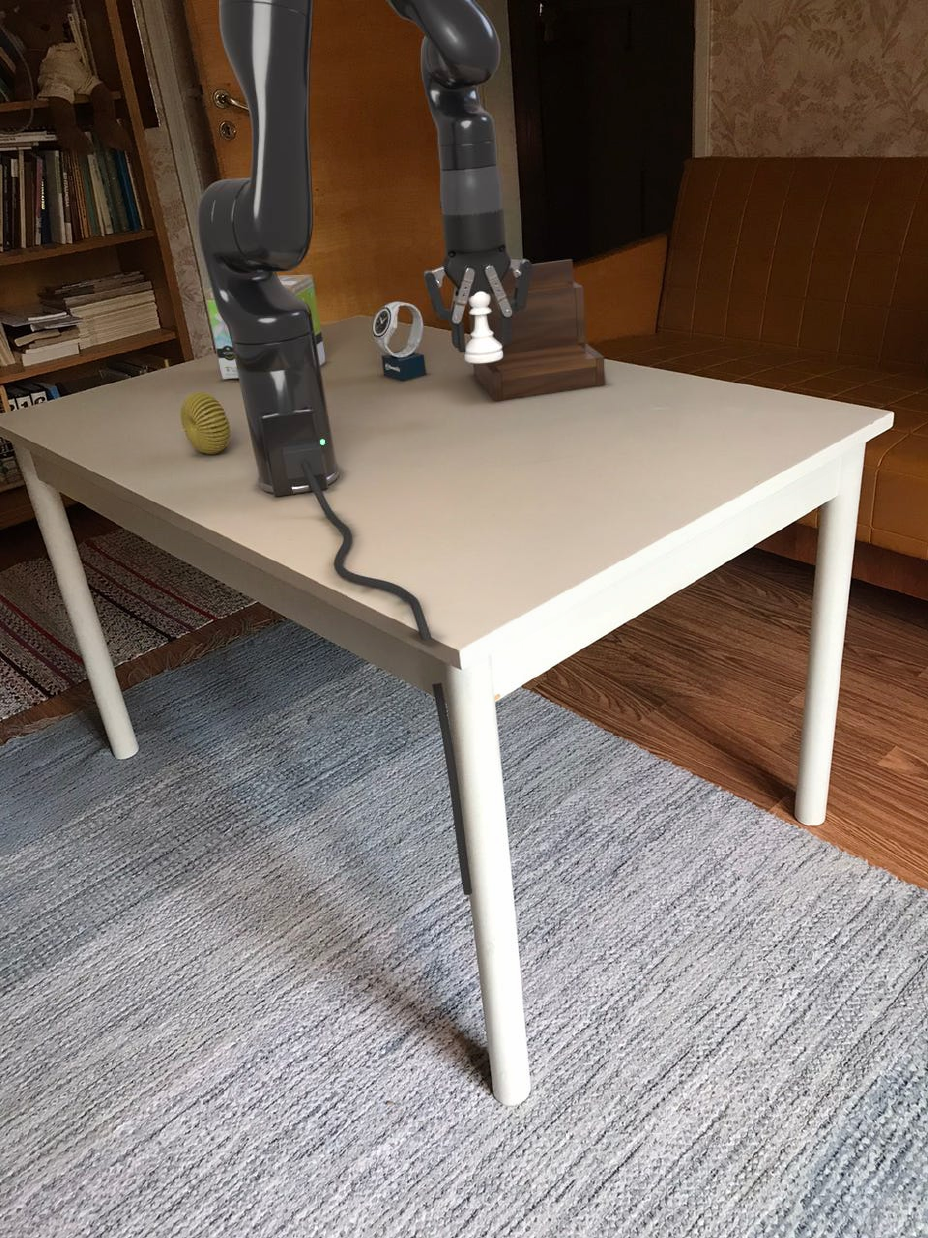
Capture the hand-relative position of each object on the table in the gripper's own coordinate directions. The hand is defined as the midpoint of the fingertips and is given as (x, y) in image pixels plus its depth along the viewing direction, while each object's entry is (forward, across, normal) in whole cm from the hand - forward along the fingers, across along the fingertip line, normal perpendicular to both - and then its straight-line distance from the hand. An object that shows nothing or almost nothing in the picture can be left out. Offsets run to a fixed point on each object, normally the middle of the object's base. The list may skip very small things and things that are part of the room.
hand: (483, 347), depth 130 cm
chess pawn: (+2, 0, 0) cm, 2 cm away
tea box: (+9, -28, +41) cm, 51 cm away
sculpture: (+10, -37, +2) cm, 38 cm away
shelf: (+9, +10, +14) cm, 19 cm away
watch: (+9, -8, +28) cm, 30 cm away
